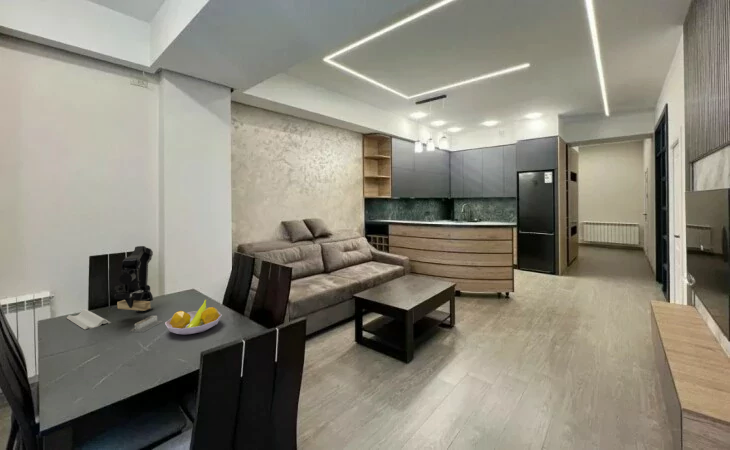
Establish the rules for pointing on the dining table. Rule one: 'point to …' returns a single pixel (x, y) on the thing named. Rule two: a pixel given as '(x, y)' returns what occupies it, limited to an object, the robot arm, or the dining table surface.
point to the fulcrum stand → (145, 324)
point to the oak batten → (134, 305)
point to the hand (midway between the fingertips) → (134, 306)
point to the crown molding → (87, 319)
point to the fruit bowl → (193, 320)
